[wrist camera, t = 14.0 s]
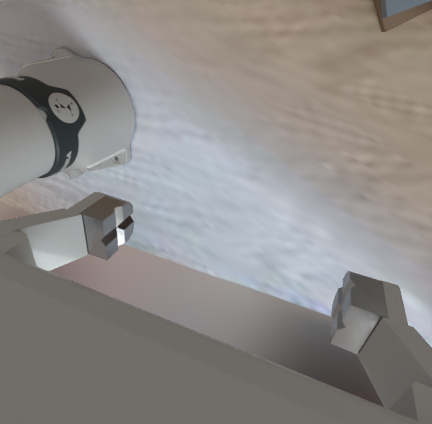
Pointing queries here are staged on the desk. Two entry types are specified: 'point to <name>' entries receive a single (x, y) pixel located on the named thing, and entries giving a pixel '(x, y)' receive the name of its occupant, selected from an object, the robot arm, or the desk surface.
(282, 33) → the desk surface
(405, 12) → the walnut base block
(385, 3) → the slate-grey upper block
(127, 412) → the robot arm
